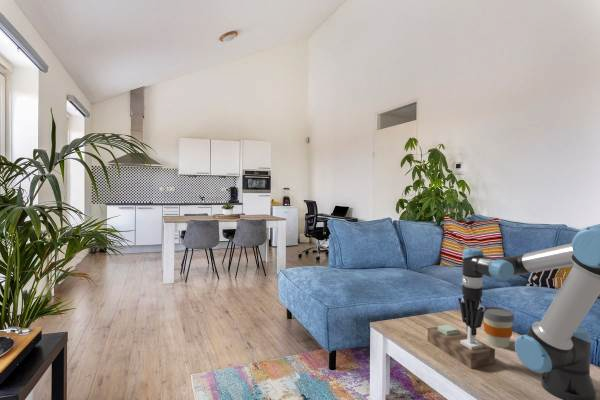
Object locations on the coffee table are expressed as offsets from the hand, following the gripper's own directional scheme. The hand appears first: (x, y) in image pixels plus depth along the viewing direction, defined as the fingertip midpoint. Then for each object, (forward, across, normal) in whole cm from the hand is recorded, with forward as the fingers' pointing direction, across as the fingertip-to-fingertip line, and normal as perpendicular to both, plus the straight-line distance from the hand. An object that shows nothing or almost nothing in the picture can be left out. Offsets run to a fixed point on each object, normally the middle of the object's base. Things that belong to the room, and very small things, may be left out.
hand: (471, 341), depth 141 cm
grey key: (+5, 0, 0) cm, 5 cm away
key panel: (+7, -7, 0) cm, 10 cm away
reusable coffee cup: (+8, -8, +23) cm, 25 cm away
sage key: (+5, -14, 0) cm, 15 cm away
